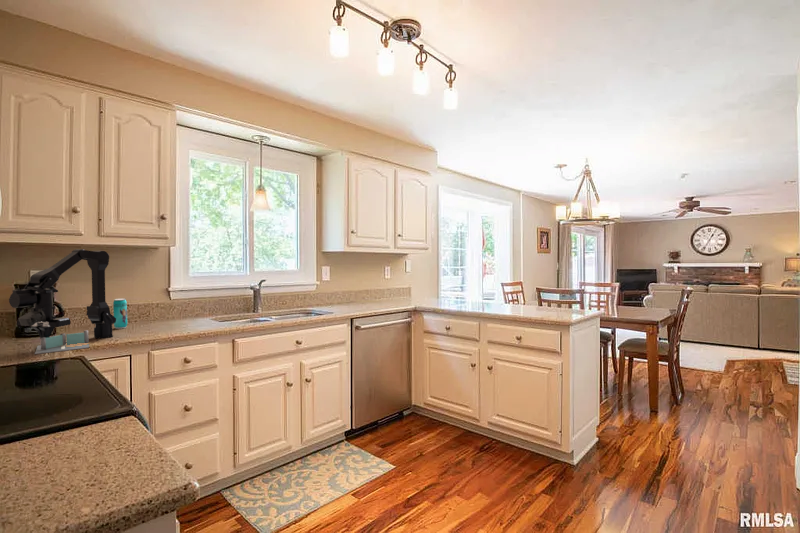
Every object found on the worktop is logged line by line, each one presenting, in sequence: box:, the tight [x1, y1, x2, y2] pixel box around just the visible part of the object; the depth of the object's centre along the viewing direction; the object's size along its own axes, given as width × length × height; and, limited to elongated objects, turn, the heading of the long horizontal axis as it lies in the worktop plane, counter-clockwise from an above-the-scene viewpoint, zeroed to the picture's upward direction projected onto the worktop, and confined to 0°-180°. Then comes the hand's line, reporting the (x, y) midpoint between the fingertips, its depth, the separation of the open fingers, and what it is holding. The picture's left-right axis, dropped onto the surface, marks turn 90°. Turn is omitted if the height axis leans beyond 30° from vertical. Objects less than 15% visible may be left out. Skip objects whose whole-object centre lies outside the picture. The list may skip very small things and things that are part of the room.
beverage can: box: [112, 298, 128, 330], centre depth 217 cm, size 6×6×15 cm
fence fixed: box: [65, 329, 90, 345], centre depth 179 cm, size 7×2×5 cm, turn 127°
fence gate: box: [39, 333, 67, 350], centre depth 173 cm, size 10×2×5 cm, turn 167°
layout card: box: [34, 341, 90, 355], centre depth 175 cm, size 17×18×1 cm
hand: (44, 342), depth 171 cm, fingers closed
